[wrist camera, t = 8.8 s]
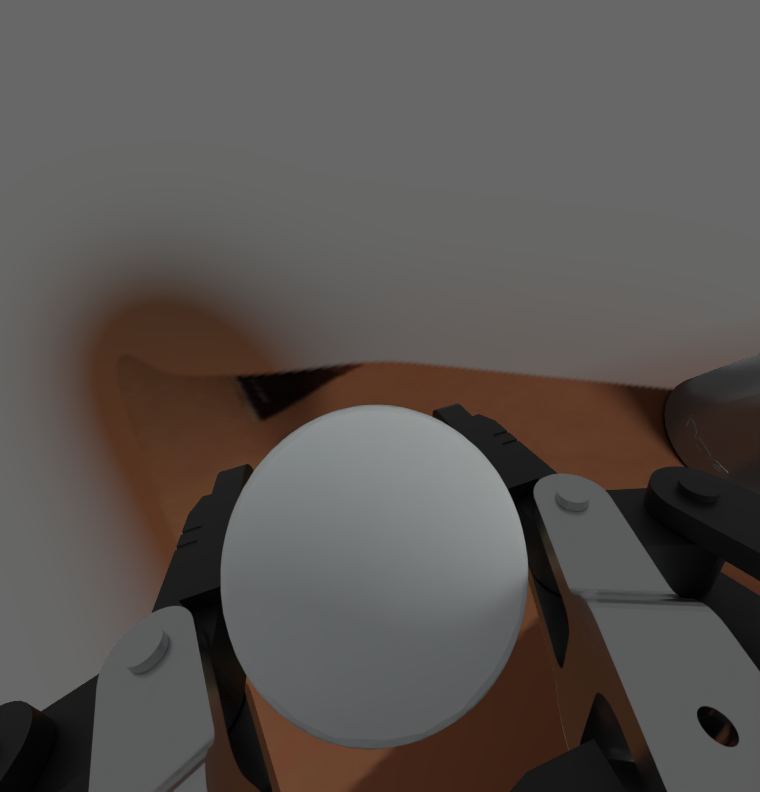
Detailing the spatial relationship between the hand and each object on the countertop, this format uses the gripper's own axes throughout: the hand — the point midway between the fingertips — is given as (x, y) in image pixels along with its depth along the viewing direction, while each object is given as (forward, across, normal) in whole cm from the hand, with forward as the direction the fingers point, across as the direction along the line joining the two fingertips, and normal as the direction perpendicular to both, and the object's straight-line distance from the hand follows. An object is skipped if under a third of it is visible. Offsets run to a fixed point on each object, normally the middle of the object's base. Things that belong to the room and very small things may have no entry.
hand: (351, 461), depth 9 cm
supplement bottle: (+2, 0, +5) cm, 5 cm away
